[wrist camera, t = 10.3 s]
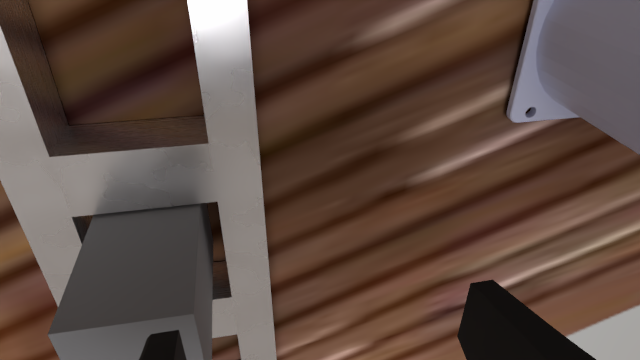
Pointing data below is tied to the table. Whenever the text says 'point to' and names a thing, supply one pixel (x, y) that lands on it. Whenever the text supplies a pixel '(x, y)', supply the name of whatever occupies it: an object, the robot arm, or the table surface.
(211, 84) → the hole rail
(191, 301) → the square peg
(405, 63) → the table surface
